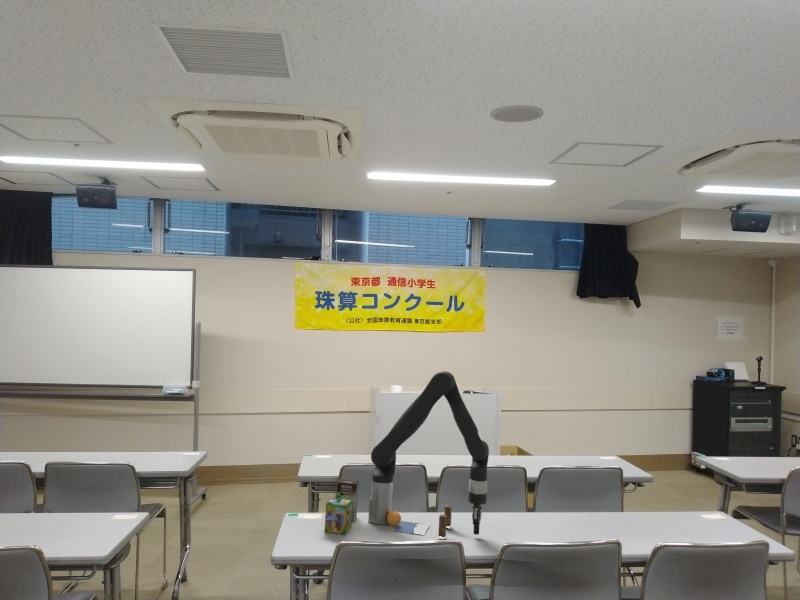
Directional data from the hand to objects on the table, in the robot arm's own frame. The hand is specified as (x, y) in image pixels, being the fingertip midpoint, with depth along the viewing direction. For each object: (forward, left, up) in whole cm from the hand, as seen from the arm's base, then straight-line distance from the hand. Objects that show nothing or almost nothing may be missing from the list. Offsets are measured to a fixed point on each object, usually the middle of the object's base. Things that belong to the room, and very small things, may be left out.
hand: (476, 533), depth 209 cm
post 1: (-13, -7, -2) cm, 15 cm away
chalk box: (-55, -14, -2) cm, 57 cm away
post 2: (-13, +7, -2) cm, 15 cm away
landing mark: (-27, 0, -2) cm, 27 cm away
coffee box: (-57, 0, -2) cm, 57 cm away
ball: (-35, 0, +2) cm, 35 cm away
